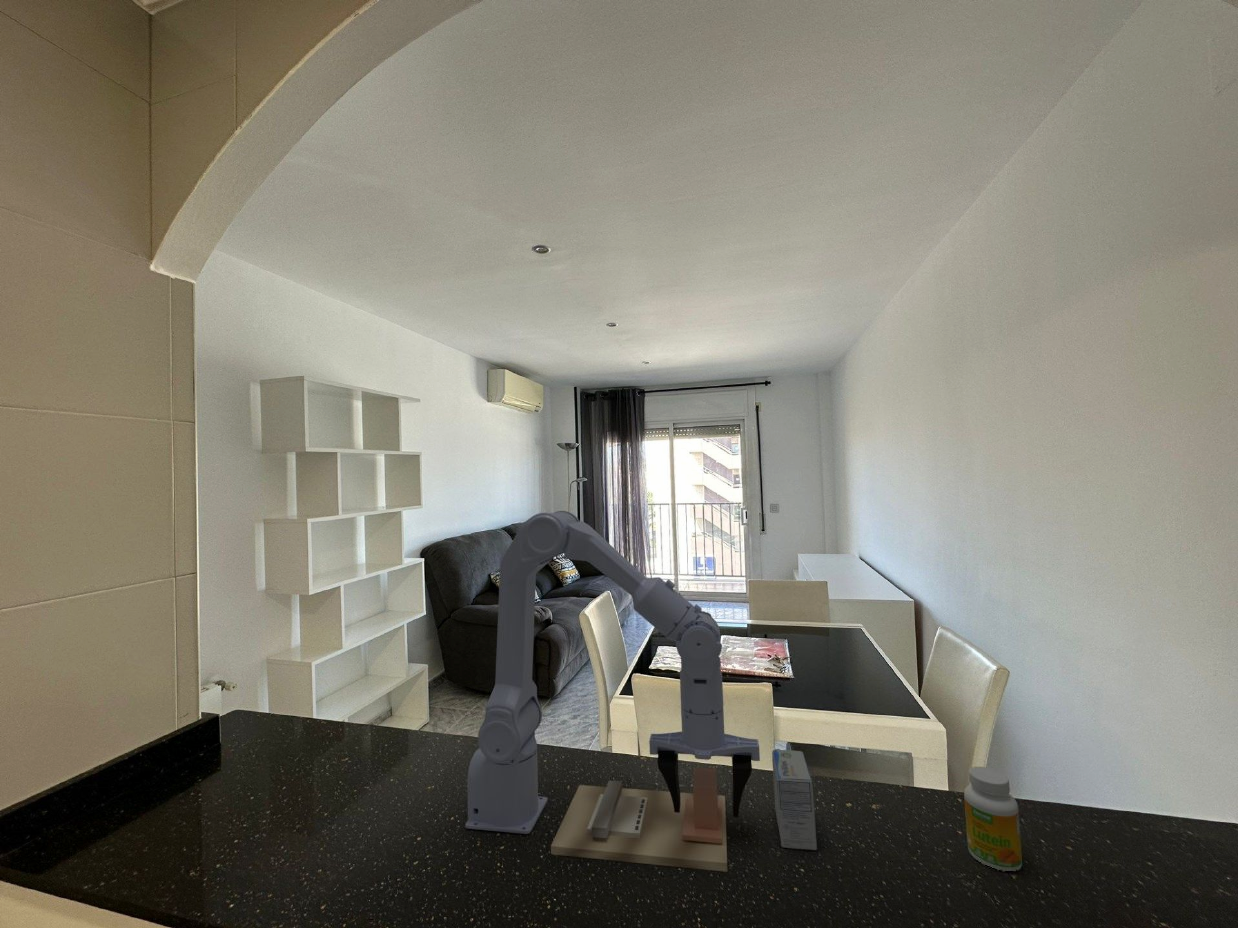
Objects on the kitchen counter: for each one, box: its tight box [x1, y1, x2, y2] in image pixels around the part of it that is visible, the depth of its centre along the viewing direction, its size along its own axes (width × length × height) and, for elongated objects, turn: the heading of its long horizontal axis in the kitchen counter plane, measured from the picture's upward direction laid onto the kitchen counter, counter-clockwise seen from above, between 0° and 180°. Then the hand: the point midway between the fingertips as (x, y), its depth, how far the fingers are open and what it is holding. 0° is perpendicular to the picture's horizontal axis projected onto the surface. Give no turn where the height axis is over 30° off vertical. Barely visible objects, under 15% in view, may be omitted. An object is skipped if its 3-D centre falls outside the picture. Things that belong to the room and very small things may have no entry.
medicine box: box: [771, 749, 818, 851], centre depth 69 cm, size 8×4×9 cm, turn 169°
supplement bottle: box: [963, 766, 1023, 872], centre depth 63 cm, size 5×5×10 cm
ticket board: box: [550, 780, 728, 873], centre depth 70 cm, size 22×14×3 cm, turn 79°
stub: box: [682, 767, 723, 843], centre depth 69 cm, size 5×8×6 cm, turn 170°
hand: (706, 810), depth 69 cm, fingers open, 7 cm apart
